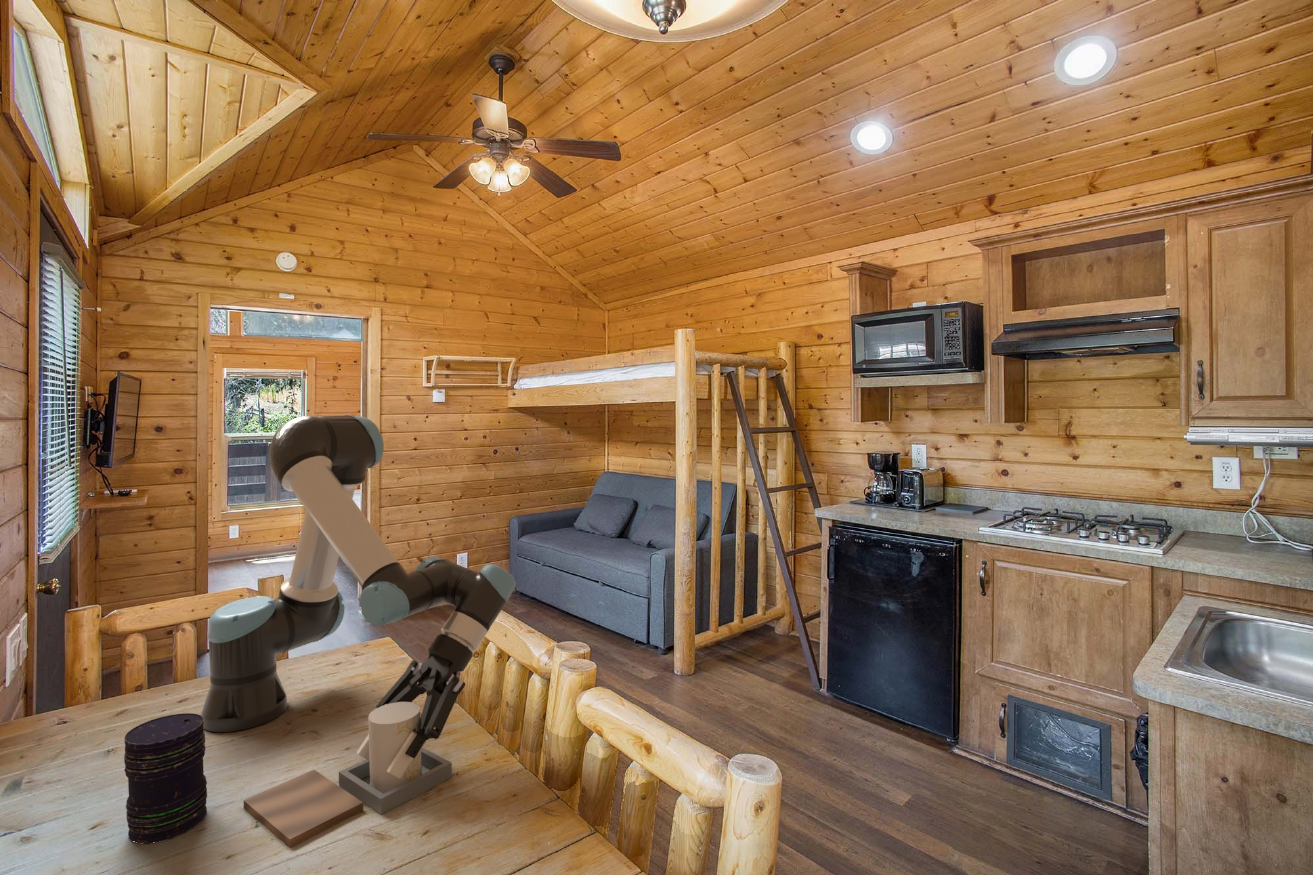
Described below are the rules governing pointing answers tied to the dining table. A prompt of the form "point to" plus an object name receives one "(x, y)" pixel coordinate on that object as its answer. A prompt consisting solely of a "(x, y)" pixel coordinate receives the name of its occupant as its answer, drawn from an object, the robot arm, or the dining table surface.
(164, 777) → the dark purple cylinder
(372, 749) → the cup
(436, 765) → the square collar
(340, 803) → the walnut board
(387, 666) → the dining table surface
